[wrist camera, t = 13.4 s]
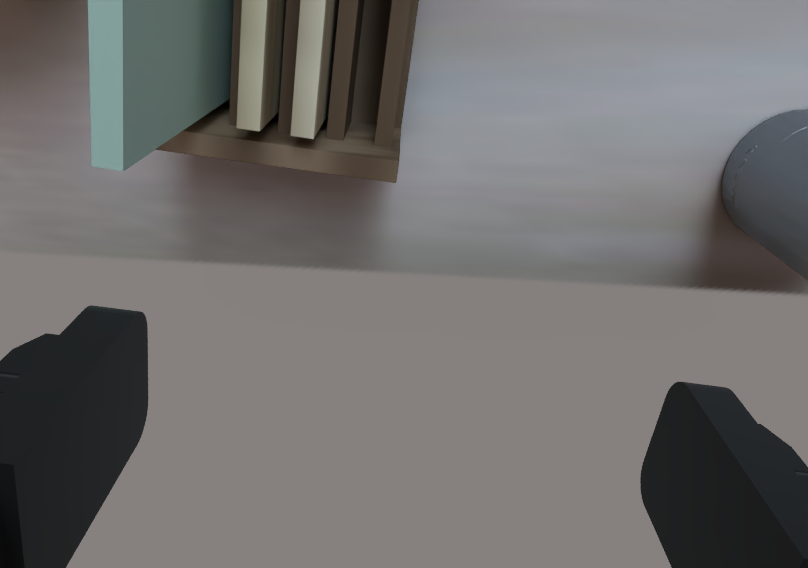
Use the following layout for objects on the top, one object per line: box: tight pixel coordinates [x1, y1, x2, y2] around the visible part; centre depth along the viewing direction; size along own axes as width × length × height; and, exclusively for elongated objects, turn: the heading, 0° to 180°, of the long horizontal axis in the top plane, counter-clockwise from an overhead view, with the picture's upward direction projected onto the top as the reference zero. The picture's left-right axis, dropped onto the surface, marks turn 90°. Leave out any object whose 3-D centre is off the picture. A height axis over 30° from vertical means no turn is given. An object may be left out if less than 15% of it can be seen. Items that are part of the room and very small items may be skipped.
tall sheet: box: [88, 0, 234, 171], centre depth 34 cm, size 1×11×20 cm, turn 171°
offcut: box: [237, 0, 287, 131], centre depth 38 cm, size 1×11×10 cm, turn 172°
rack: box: [155, 0, 419, 183], centre depth 39 cm, size 14×15×10 cm
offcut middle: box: [290, 0, 339, 139], centre depth 39 cm, size 1×11×10 cm, turn 172°
